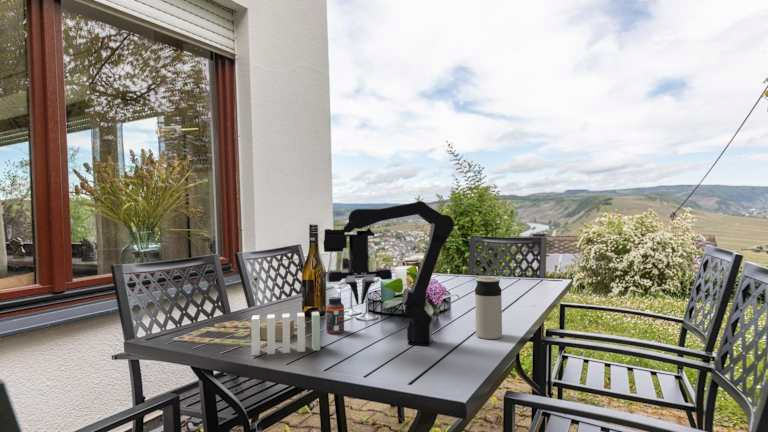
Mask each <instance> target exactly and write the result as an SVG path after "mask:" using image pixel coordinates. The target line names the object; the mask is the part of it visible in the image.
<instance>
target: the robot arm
mask: <svg viewBox="0 0 768 432" xmlns="http://www.w3.org/2000/svg"><path fill="white" fill-rule="evenodd" d="M416 215H418V216H419V217H420V218H421V219H423V220H424V221H426V223H428V224H430V228H429V240H428V242H427V243H428V244H427V247H426V250H425V253H424V256H423V258H422V260H421V264H420V266H419V270H418V273H417V274H416V278H415V281H414V283H413V285H412V287H411V289H408V288H405V291H404V292H405V293H404V296H403V298H402V299H401V302H402V308H403V310H404V311H403V312H405V315H406V316H407V317H408V318H409V319H410V320H409V321H408V326H407V327H406V333H407V334H406V335H407V336H406V337H407V338H406V340H407V344H408V345H414V346H426V347H427V346H430V345H431V344H432V342H433V341H434V338H433V335H432V333H433V332H432V321H433V320H432V319H433V317H432V316H431V315H430V313H429V312H428V310H426V302H427V290H428V287H429V285H430V282H431V279H432V277H433V273H434V271H435V268H436V265H437V261H438V259H439V256H440V253H441V250H442V248H443V246H444V244H445V243H446V241H447V240H448V238H450V235H451V234H452V232H453V229H454V227H455V222H454V220H453V217H451V216H450V215H448V214H441V213H440V212H439V211H438V210H436V209H434V208H432V207H431V206H429V205H427V204H426V203H425V202H424V201H423V200H422V201H421V200H418V201H415V202H412V203H406V204H400V205H395V206H391V207H390V206H389V207H385V208H383V207H382V208H355V209H354V210H352V211H351V212H350V213H349V215H348V222H347V224H346V225H344V226H343V229H332V228H325V229H324V237H323V252H324V253H337V252H338V253H343V252H344V250H345V249H347V248H349V249H348V250H349V251H348V252H349V254H348V258H347V257H346V258H342V259H341V268H342V269H334V270H333V269H331V270H328V271H327V272H326V280H327V282H328V283H340V282H341V281H342V280H344V283H346V285H349V288H350V289H351V291H352V294H353V297H354V299H355V302H356V305H359V298H360V303H361V305H364V303H365V300H366V296H367V294H368V291H369V290H370V288H371V286H372V284H375V280H374V279H375V278H380V279H381V280H382V281H383V280H386V281H387V280H392V279H393V272H392V270H391V269H390V268H387V267H380V268H378V267H376V268H375V270H370V265H369V264H370V261H369V260H370V259H369V258H370V256H369V255H370V254H369V250H370V249H369V237H374V236H375V235H376V234H375V233H374V232H373V231H372V230H371V228H370V227H369V226H371V225H374V224H377V223H379V222H383V221H387V220H388V221H389V220H393V219H399V218H406V217H410V216H411V217H412V216H416ZM366 227H368V228H367V229H366V230H361V229H363V228H366ZM356 229H358V230H356ZM359 229H360V230H359ZM353 230H356V233H351V232H352V231H353ZM346 233H347V234H346ZM347 238H348V239H347ZM348 241H349V242H348ZM342 270H344V271H345V270H347V272H346V271H345V272H343V271H342ZM356 279H361V295H360V297H359V293H358V292H359V290H358V283H357V281H356Z"/></svg>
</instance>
